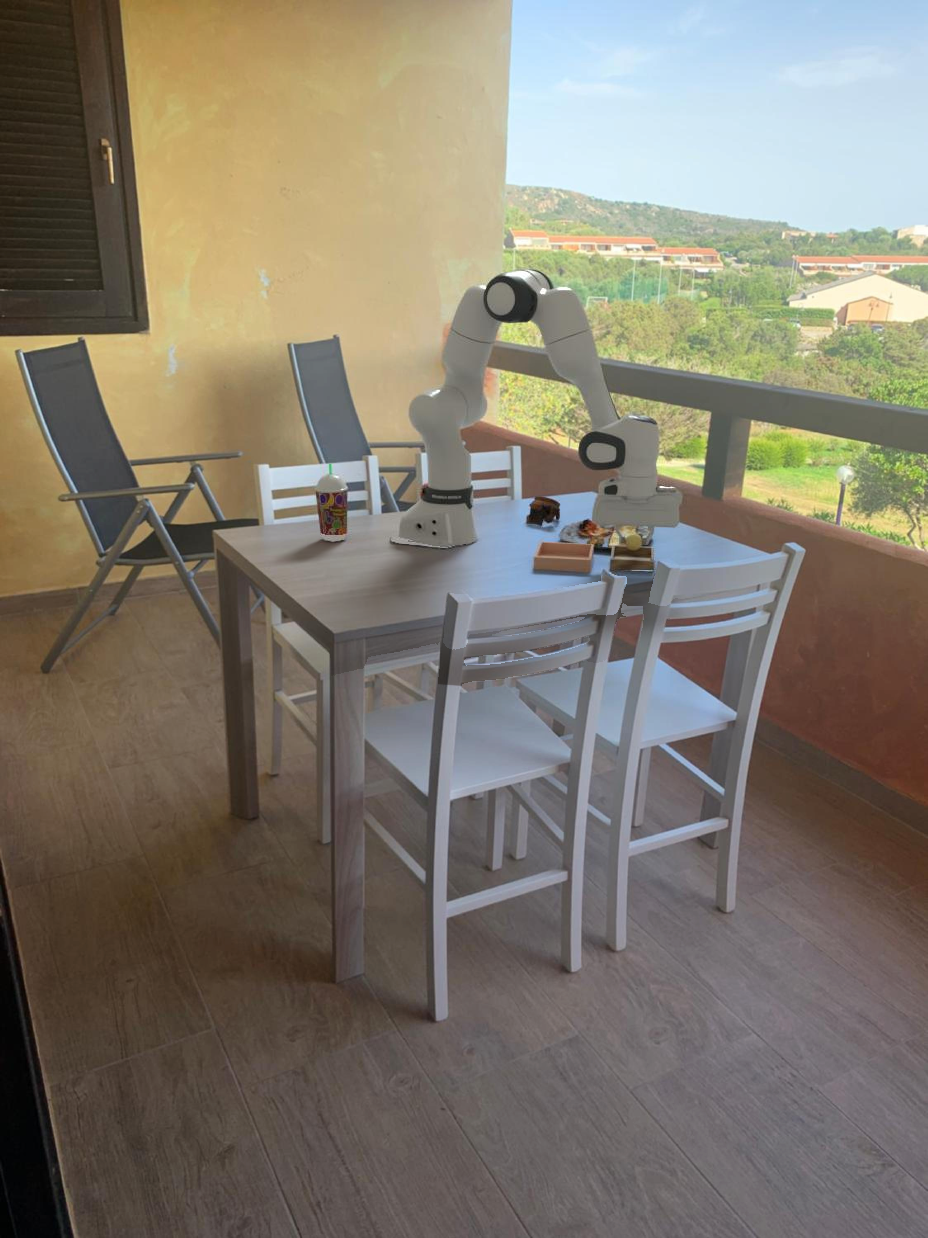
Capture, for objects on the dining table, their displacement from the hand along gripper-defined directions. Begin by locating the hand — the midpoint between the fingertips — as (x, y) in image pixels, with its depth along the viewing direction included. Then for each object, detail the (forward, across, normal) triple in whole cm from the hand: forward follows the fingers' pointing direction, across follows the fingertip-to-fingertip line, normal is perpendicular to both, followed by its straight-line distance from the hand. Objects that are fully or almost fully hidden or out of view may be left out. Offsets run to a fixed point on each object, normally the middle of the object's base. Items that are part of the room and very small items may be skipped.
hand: (633, 543), depth 216 cm
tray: (+5, 0, 0) cm, 5 cm away
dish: (+5, +16, +2) cm, 17 cm away
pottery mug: (+5, +25, -34) cm, 43 cm away
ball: (0, 0, 0) cm, 0 cm away
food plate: (+5, +7, -20) cm, 22 cm away
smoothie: (+5, +77, -8) cm, 77 cm away
